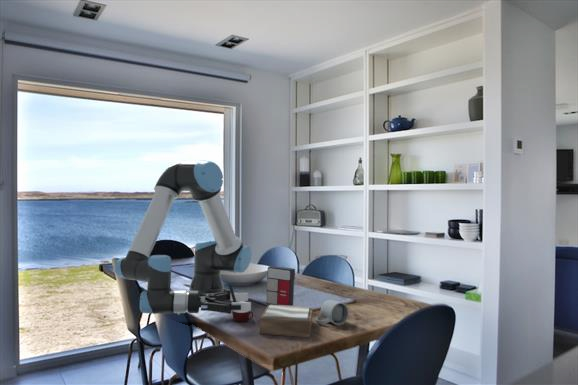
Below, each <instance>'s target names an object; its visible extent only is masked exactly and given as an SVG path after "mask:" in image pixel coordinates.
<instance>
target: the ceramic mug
mask: <svg viewBox="0 0 578 385" xmlns="http://www.w3.org/2000/svg"><path fill="white" fill-rule="evenodd" d="M319 312H320V313H319V314H318V315H317V316H316V317H315V322H316V323H317V324H318V325H326V324H328V323H332V324H333V325H336V326H341V325H343V324H345V323H346V322H347V320H348V319H349V318H348V317H349V308H348V306H347V304H346V303H345V302H341V301H337V300H333V299H328V300H325V301H324V302H323V303H322V304H321V307H320V311H319ZM322 318H323V319H322ZM321 319H322V320H321Z"/></svg>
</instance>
